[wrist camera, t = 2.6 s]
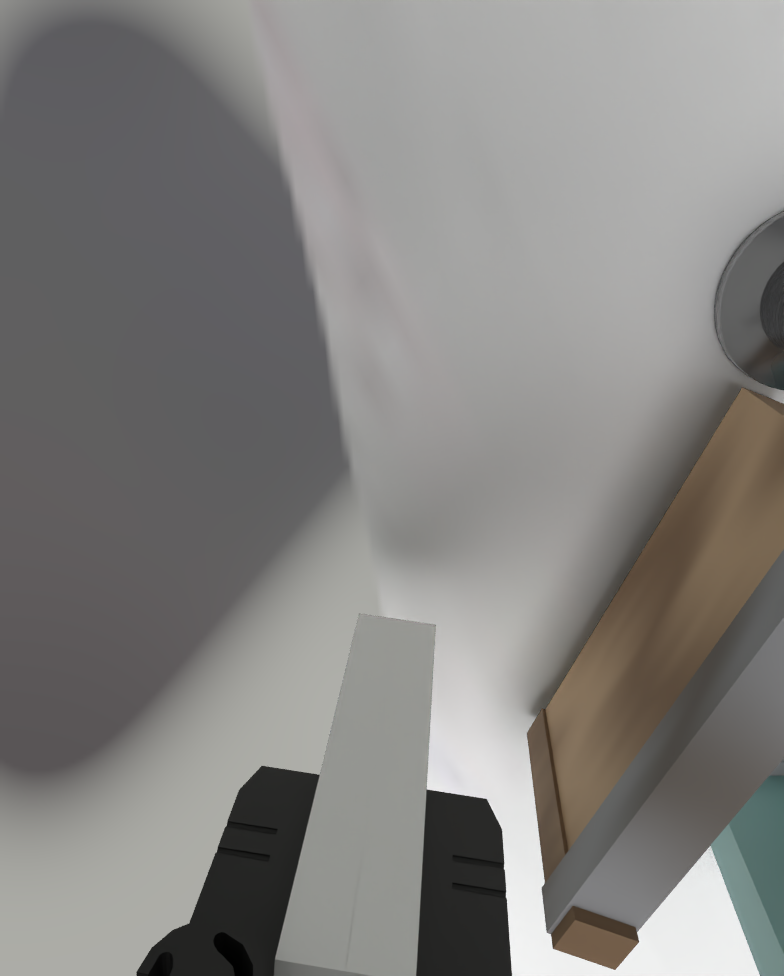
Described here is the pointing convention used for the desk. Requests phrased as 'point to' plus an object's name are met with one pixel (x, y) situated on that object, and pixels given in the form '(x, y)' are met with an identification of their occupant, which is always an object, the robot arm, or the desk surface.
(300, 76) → the desk surface
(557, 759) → the gate
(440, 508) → the desk surface
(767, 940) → the stile
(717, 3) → the desk surface
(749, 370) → the hinge post
